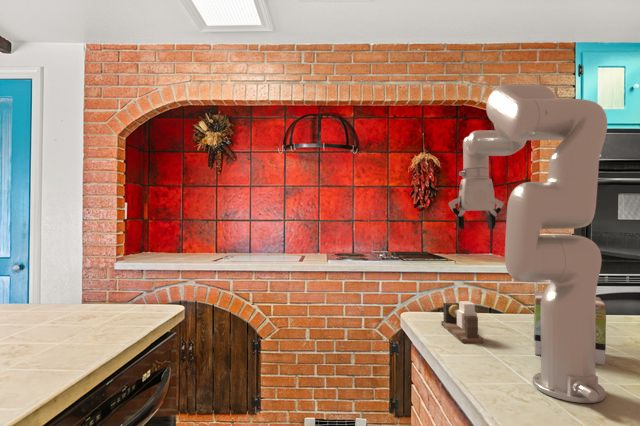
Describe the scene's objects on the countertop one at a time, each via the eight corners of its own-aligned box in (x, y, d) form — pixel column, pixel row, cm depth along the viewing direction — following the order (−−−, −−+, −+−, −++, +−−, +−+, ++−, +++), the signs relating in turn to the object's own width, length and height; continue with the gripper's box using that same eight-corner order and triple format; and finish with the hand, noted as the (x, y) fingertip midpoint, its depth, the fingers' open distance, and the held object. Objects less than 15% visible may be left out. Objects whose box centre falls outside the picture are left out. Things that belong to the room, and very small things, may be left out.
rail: (483, 342, 111) (483, 316, 111) (462, 342, 111) (462, 316, 111) (459, 324, 129) (459, 301, 129) (441, 324, 129) (441, 302, 129)
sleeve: (477, 328, 113) (477, 304, 113) (461, 328, 113) (461, 304, 113) (471, 324, 117) (471, 301, 117) (456, 324, 117) (456, 301, 117)
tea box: (534, 355, 101) (534, 297, 101) (533, 344, 109) (533, 290, 109) (606, 366, 94) (606, 303, 94) (600, 352, 102) (599, 295, 102)
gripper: (453, 173, 122) (453, 229, 122) (508, 173, 123) (508, 229, 123) (444, 176, 130) (445, 228, 130) (496, 176, 130) (497, 228, 130)
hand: (476, 228), depth 126 cm, fingers open, 9 cm apart
